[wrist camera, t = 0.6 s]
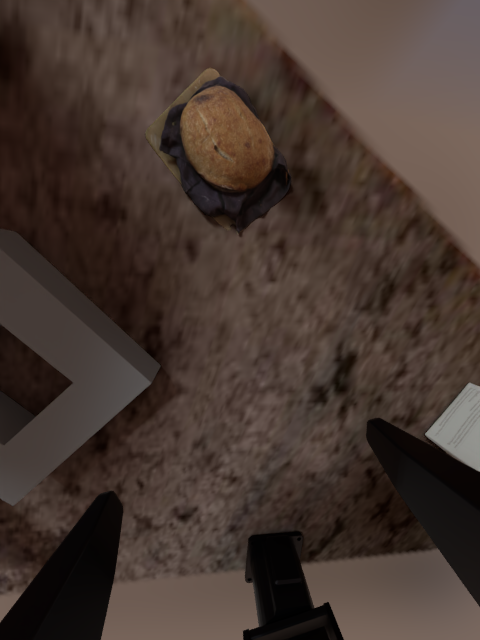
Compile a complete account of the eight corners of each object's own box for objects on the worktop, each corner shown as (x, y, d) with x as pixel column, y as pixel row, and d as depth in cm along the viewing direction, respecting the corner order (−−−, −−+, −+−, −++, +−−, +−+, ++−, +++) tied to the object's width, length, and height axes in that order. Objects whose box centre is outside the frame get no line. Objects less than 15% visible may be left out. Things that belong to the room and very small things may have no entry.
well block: (160, 365, 22) (151, 383, 18) (43, 470, 22) (13, 506, 19) (15, 231, 18) (-30, 222, 15) (-120, 361, 19) (-194, 381, 15)
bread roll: (139, 142, 18) (122, 110, 15) (217, 65, 18) (218, 13, 14) (229, 247, 21) (233, 241, 17) (300, 181, 20) (319, 162, 17)
